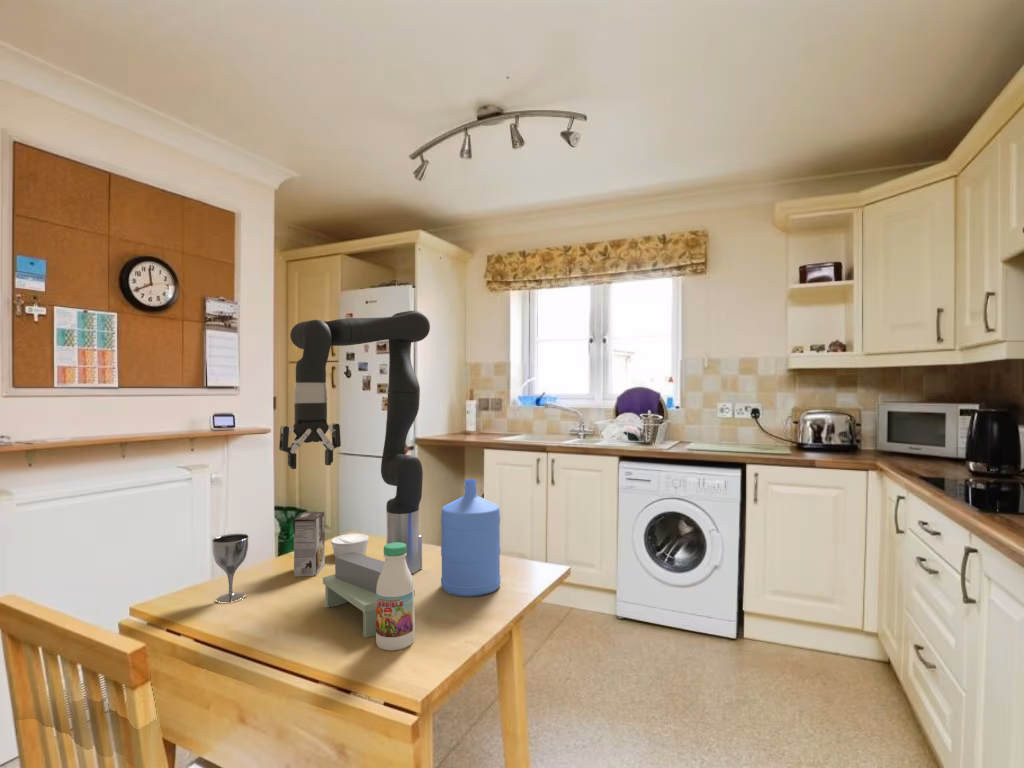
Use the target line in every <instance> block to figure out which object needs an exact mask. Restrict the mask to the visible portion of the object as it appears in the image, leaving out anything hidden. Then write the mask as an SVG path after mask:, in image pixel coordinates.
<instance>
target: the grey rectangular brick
mask: <svg viewBox="0 0 1024 768" xmlns="http://www.w3.org/2000/svg"><path fill="white" fill-rule="evenodd" d="M334 557H335V556H334ZM384 562H385V561H382V560H380V559H377V558H374V557H370V556H367V555H365V554H364V555H362V554H359V553H355V552H351V553H347V554H344V555H341V556H337V557H335V558H334V565H335V566H334V567H335V568H334V569H335V570H334V571H335V572H334V574H335V578H337V579H339V580H342V581H344V582H347V583H350V584H352V585H355V586H357V587H360V588H362V589H365V590H368V591H370V592H373V593H375V594H376V588H377V582H378V578H379V576H380V574H381V571H382V569H383V566H384Z"/></svg>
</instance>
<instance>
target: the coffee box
mask: <svg viewBox="0 0 1024 768" xmlns="http://www.w3.org/2000/svg"><path fill="white" fill-rule="evenodd" d="M325 531H326V529H325V511H303V512H301V513H300V514H299V515H298V516H296V517H295V518H294V519H293V577H295V576H297V577H315V576H317V575H318V574H319V573H320V572H321V570H322V569H323V568H324V566H325V565H326V563H325V562H326V559H325V558H326V554H325V553H326V552H325V551H326V547H325V546H326V544H325V542H326V541H325V539H326V538H325V536H326V534H325ZM314 575H315V576H314Z"/></svg>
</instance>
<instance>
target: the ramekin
mask: <svg viewBox="0 0 1024 768" xmlns="http://www.w3.org/2000/svg"><path fill="white" fill-rule="evenodd" d="M369 540H370V537H369V536H368V535H367V534H363V533H346V534H341V535H338V536H335V537H333V538H332V539H331V541H330V543H331V546H332V550H333V555H334V557H337V556H341V555H344V554H347V553H351V552H355V553H359V554H362V555H365V554H366V553H367V549H368V542H369Z"/></svg>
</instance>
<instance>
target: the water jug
mask: <svg viewBox="0 0 1024 768" xmlns="http://www.w3.org/2000/svg"><path fill="white" fill-rule="evenodd" d="M500 524H501V512H500V506H499V505H498V504H496V503H494V502H492V501H490V500H487V499H485V498H483V497H481V496H480V495H478V494H477V479H473V478H469V479H464V495H462V496H461V497H459V498H457V499H455V500H453V501H450V502H448V503H447V504H445V505H443V506H442V507H441V515H440V525H441V545H440V555H441V577H440V583H441V584H440V585H441V588H442V590H444V591H445V592H446V593H447V594H450V595H453V596H455V597H456V596H457V597H463V598H464V597H467V598H470V597H473V596H474V597H479V596H480V597H481V596H485V594H486V595H488V593H489V594H491V593H493V592H495V591H497V589H498V588H499V587H500V585H501V578H502V577H501V573H500V572H501V571H500V568H501V567H500V565H501V564H500V562H501V561H500V558H501V557H500V556H501V543H500V542H501V537H500V535H501V534H500V530H501V529H500V527H501V525H500Z"/></svg>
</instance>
